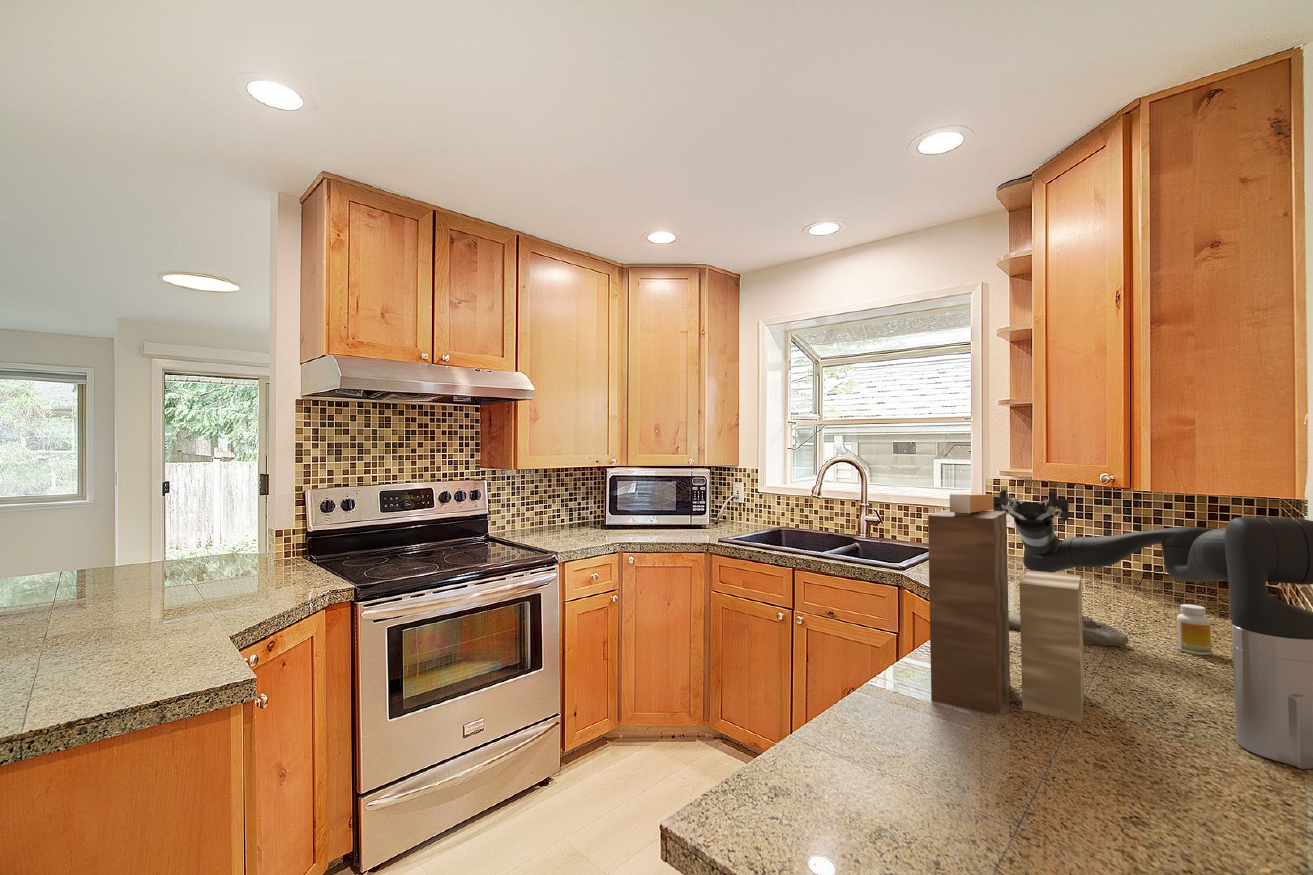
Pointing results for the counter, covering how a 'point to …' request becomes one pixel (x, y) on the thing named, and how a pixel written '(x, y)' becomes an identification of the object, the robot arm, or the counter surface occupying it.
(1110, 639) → the long grey stone
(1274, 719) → the robot arm
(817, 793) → the counter surface
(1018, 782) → the counter surface
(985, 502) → the pale tan wood block
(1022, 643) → the short stand
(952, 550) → the tall stand
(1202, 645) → the supplement bottle
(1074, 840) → the counter surface
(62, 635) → the counter surface
